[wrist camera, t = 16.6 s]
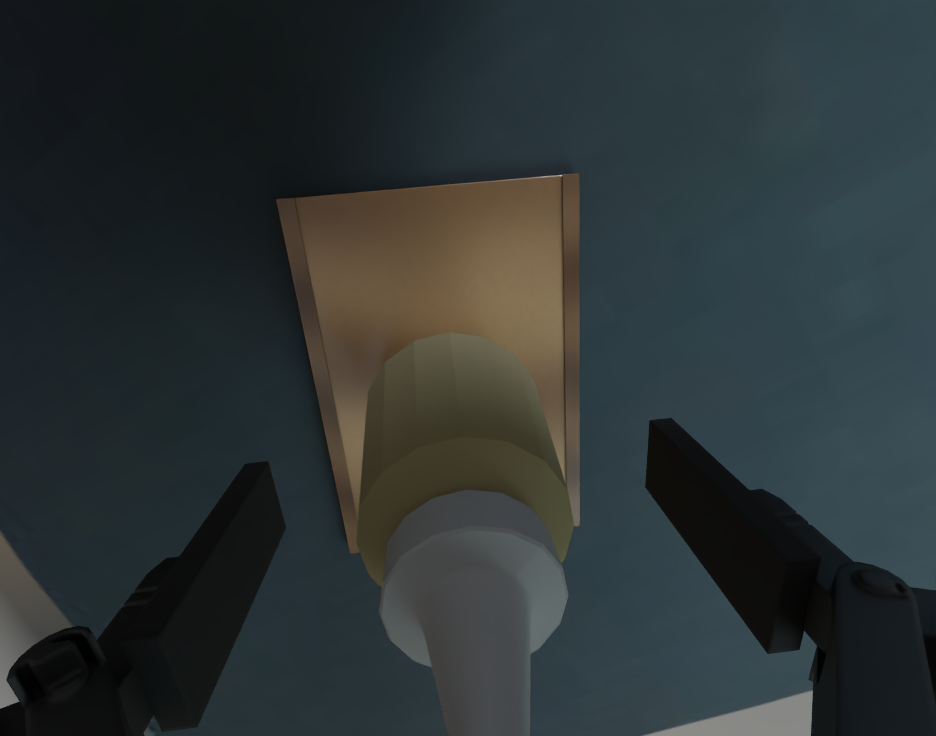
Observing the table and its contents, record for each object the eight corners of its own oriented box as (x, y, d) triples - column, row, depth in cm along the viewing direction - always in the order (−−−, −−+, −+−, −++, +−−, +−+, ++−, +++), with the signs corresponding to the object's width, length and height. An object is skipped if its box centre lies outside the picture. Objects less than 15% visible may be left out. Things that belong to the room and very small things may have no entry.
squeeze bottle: (416, 475, 26) (392, 963, 9) (345, 354, 24) (131, 730, 7) (546, 418, 26) (771, 826, 9) (489, 286, 23) (652, 512, 6)
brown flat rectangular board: (280, 199, 21) (276, 199, 21) (575, 173, 22) (579, 173, 22) (351, 546, 28) (350, 553, 28) (576, 519, 29) (579, 525, 28)
